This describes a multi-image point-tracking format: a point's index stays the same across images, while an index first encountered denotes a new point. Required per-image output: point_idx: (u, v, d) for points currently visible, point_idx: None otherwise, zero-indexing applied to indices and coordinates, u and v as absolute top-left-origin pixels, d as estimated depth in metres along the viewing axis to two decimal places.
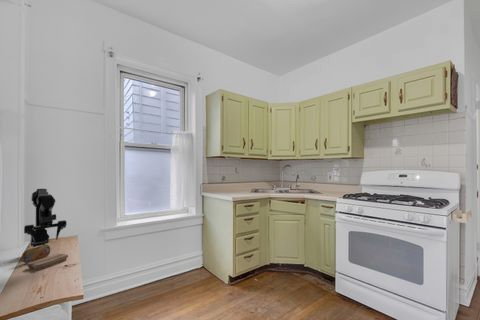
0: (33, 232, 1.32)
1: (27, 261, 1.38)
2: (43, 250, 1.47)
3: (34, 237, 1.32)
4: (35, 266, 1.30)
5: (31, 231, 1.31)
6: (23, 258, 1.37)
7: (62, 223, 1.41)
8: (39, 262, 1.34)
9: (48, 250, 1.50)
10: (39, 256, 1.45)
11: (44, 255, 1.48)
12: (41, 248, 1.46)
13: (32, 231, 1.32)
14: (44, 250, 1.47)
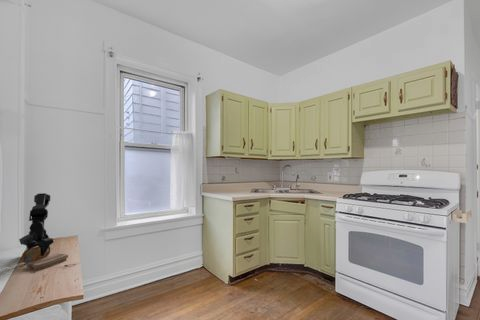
0: (26, 245, 1.44)
1: (27, 261, 1.38)
2: None
3: None
4: (35, 266, 1.30)
5: None
6: (23, 258, 1.37)
7: (40, 244, 1.39)
8: (39, 262, 1.34)
9: (48, 250, 1.50)
10: (39, 256, 1.45)
11: (44, 255, 1.48)
12: None
13: (25, 244, 1.43)
14: None
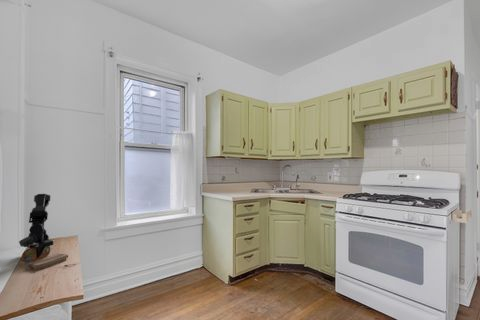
0: None
1: (27, 261, 1.38)
2: (43, 250, 1.47)
3: None
4: (35, 266, 1.30)
5: (28, 247, 1.43)
6: (23, 258, 1.37)
7: (40, 246, 1.39)
8: (39, 262, 1.34)
9: (48, 250, 1.50)
10: None
11: (44, 255, 1.48)
12: None
13: (29, 247, 1.43)
14: (44, 250, 1.47)
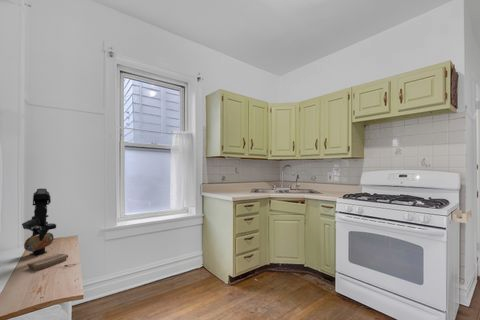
0: (33, 231, 1.42)
1: (29, 249, 1.37)
2: (46, 238, 1.46)
3: (35, 235, 1.43)
4: (35, 266, 1.30)
5: (31, 230, 1.42)
6: (25, 246, 1.36)
7: (43, 229, 1.39)
8: (39, 262, 1.34)
9: (51, 238, 1.49)
10: (42, 244, 1.44)
11: (47, 243, 1.47)
12: None
13: (31, 230, 1.42)
14: (47, 238, 1.47)
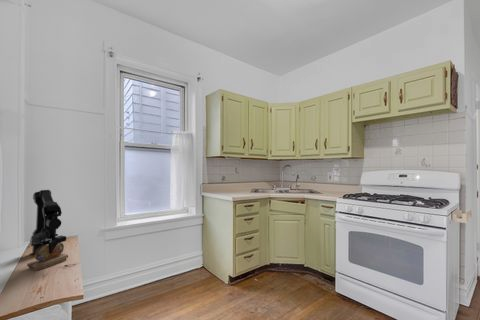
0: (42, 243, 1.38)
1: (39, 259, 1.33)
2: (56, 248, 1.43)
3: None
4: (35, 266, 1.30)
5: (40, 243, 1.38)
6: (36, 255, 1.32)
7: (53, 242, 1.34)
8: (39, 262, 1.34)
9: (61, 248, 1.45)
10: (52, 254, 1.40)
11: (57, 253, 1.43)
12: None
13: (41, 243, 1.38)
14: (57, 247, 1.43)
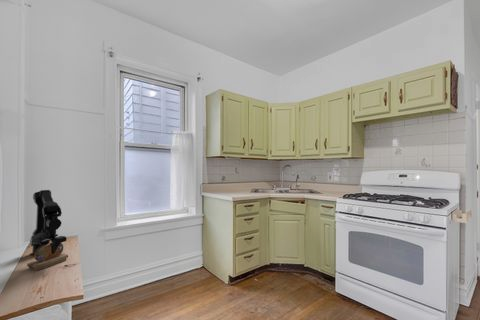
0: (40, 244, 1.38)
1: (39, 259, 1.33)
2: None
3: None
4: (35, 266, 1.30)
5: (38, 243, 1.38)
6: (35, 256, 1.32)
7: (53, 242, 1.34)
8: (39, 262, 1.34)
9: (61, 248, 1.45)
10: (52, 254, 1.40)
11: (57, 253, 1.43)
12: None
13: (39, 243, 1.38)
14: None
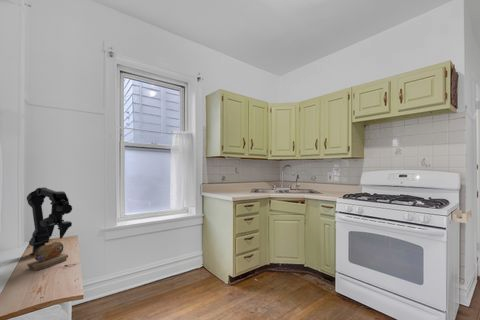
0: (46, 228, 1.48)
1: (39, 259, 1.33)
2: (56, 248, 1.43)
3: (48, 232, 1.49)
4: (35, 266, 1.30)
5: (44, 227, 1.48)
6: (35, 256, 1.32)
7: (60, 226, 1.44)
8: (39, 262, 1.34)
9: (61, 248, 1.45)
10: (52, 254, 1.40)
11: (57, 253, 1.43)
12: (54, 246, 1.42)
13: (45, 227, 1.48)
14: (57, 247, 1.43)
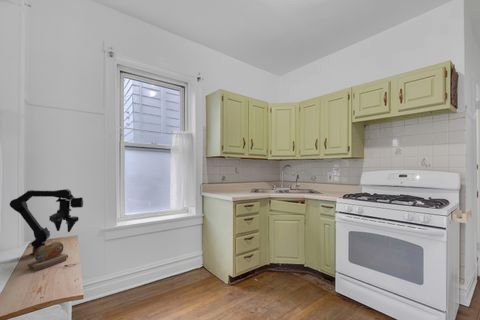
0: (54, 223, 1.61)
1: (39, 259, 1.33)
2: (56, 248, 1.43)
3: (56, 226, 1.61)
4: (35, 266, 1.30)
5: (53, 222, 1.61)
6: (35, 256, 1.32)
7: (68, 221, 1.56)
8: (39, 262, 1.34)
9: (61, 248, 1.45)
10: (52, 254, 1.40)
11: (57, 253, 1.43)
12: (54, 246, 1.42)
13: (53, 222, 1.60)
14: (57, 247, 1.43)
